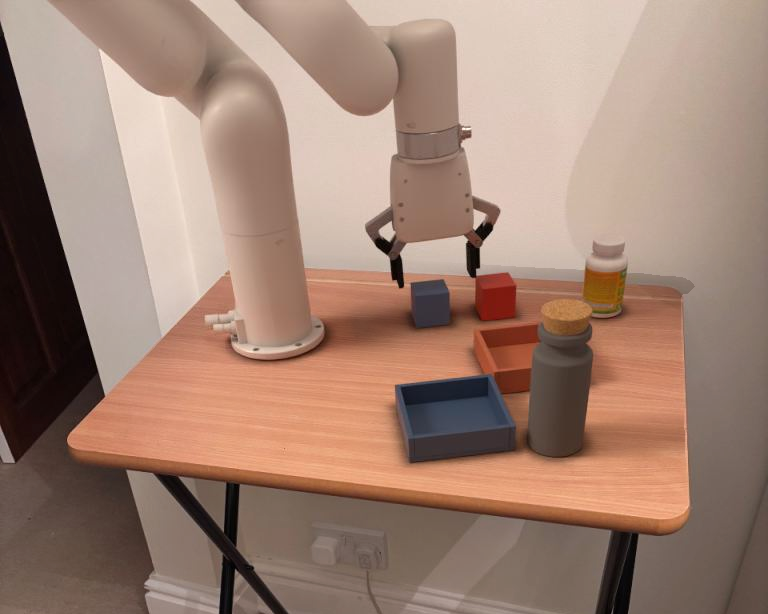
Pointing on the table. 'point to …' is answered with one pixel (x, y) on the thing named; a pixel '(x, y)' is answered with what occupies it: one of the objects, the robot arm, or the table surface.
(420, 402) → the blue bin
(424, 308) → the blue block
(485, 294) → the red block
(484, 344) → the orange bin
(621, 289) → the supplement bottle
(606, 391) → the table surface
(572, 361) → the bottle
